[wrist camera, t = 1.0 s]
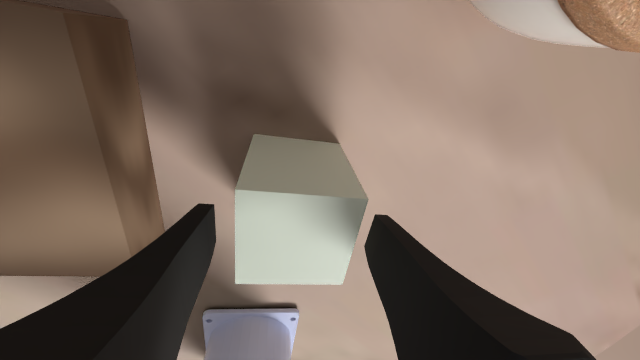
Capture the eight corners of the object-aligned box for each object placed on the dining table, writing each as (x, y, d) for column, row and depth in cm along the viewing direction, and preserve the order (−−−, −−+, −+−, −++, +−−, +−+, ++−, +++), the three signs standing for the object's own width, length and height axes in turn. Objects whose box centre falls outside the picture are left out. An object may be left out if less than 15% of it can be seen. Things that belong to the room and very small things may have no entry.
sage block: (325, 210, 17) (342, 284, 12) (251, 206, 16) (234, 283, 11) (339, 143, 15) (368, 199, 10) (253, 133, 14) (235, 189, 9)
